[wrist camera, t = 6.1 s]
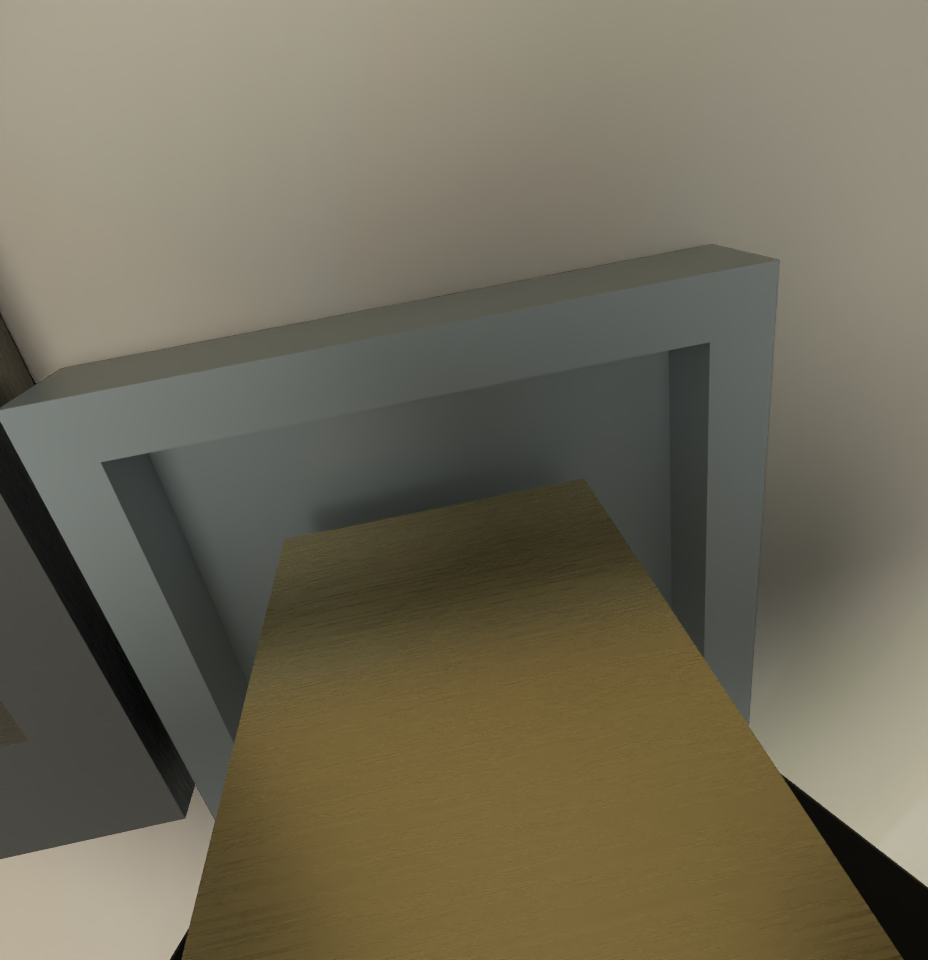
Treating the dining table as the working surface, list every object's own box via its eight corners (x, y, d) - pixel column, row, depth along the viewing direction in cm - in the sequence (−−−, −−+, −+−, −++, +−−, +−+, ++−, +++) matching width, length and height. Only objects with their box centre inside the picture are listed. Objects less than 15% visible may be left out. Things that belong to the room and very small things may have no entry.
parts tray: (712, 243, 11) (779, 259, 9) (703, 706, 16) (745, 775, 14) (60, 368, 10) (-5, 410, 9) (264, 803, 15) (250, 886, 14)
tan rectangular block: (584, 478, 10) (1127, 1297, 3) (602, 695, 13) (932, 1471, 5) (284, 539, 10) (25, 1589, 3) (357, 748, 13) (329, 1632, 5)
